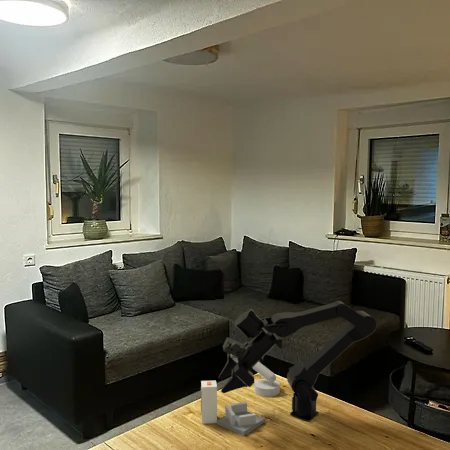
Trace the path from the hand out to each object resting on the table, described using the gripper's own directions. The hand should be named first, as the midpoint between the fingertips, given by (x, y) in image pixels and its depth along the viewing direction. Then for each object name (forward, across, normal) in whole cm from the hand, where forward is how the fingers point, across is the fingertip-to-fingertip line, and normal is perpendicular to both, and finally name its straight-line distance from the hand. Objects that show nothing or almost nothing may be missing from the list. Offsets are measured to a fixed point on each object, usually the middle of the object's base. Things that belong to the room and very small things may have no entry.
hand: (220, 385), depth 137 cm
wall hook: (-4, -18, +19) cm, 27 cm away
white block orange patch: (+10, 0, +5) cm, 11 cm away
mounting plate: (+3, +3, +11) cm, 12 cm away
